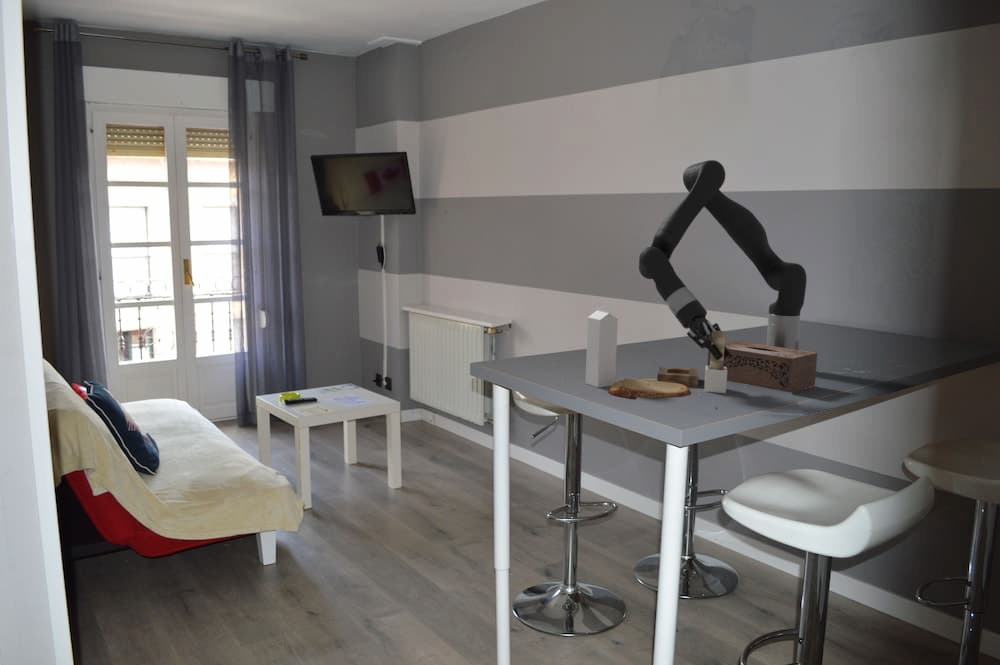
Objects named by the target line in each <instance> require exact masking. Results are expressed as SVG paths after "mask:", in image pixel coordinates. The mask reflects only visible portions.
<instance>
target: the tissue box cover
mask: <svg viewBox="0 0 1000 665" xmlns="http://www.w3.org/2000/svg"><path fill="white" fill-rule="evenodd" d="M725 346H726V348H727V349H728V350H729V351H730V353H731V354H730V355H729V356H728V357H727V358H724V364H723V367H727V381H729V382H735V383H740V384H744V385H752V386H755V387H762V388H767V389H771V390H776V391H783V392H788V393H791V394H795V393H798V392H797V391H799V392H801V391H800V390H802V389H805V388H809V387H811V386H814V385H815V386H816V376H817V364H818V363H817V362H818V352H815V351H814V352H813V351H808V350H801V349H799V350H795V349H788V348H781V347H774V346H767V345H765V344H761V343H760V344H759V343H753V342H746V341H740V340H732V341H727V342H726V341H725ZM710 355H711V352H710V351H709V350H708V354H707V366H710ZM809 389H810V388H809ZM802 391H803V390H802ZM794 392H795V393H794Z"/></svg>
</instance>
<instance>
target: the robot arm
mask: <svg viewBox="0 0 1000 665" xmlns="http://www.w3.org/2000/svg"><path fill="white" fill-rule="evenodd" d="M725 181H726V170H725V167H724V166H723V164H722V163H720V162H719V161H718V160H714V159H711V160H710V159H708V160H704V161H701V162H698V163H694V164H691V165H689V166H688V167H686V169H685V170H684V171H683V174H682V182H683V185H684V187H685V189H686V190H687V192H688V194H687V195H686V196H685V197H684V198H683V199H682V201H681V202H679V203H678V204H677V205H676V206H675V207H674V208H673V209H672V211H670V212H669V214H667V216H666V217H665V218H664V220H663V221H662V222H661V224H660V226H659V227H658V229H657V230H656V233H655V234H654V237H653V240H652V243H651V245H650V246H647V247H645V248H644V249H642V251H641V252H640V254H639V257H638V258H639V259H638V260H639V261H638V270H639V273H640V275H641V276H642V277H643V278H645V279H646V280H647V279H648V280H652V281H653V282H654V283H655V284H654V285H655V288H656V291H657V292H658V294H659V295H660V297H661V298H662V299H663V301H664V302H665V303H666V305H667V306H668V308H669V310H670V311H671V312H672V314H673V315H674V317H675V318H676V319H677V321H678V322H679V323H680V324H681V326H682V327H683V328H684V329H686V330H687V329H689V330H688V331H687V333H686V335H687V336H688V337H689V338H690V339H691V340H692V341H694V343H696V344H697V345H698V346H699V347H700V348H701V349H702V350H703V349H705V350H708V351H710V352H711V354H712V355H713V356H714V357H715V359H716V360H719V359H721V358H722V357H723V354H722V352H721V351H720V350H719V348H718V347H717V346H716V345H714V342H713V340H712V338H711V337H712V331H722V330H721V327H720V326H719V323H716V322H715V323H711V321H709V320H708V319H707V318H706V316H707V314H708V311H707V310H706V309H705V307H704V306H703V304H702V303H701V302H700V301H699V300H698V298H697V297H696V295H695V294H694V293H693V292H692V291H691V290H690V288H688V287H687V286H686V284H685V283H684V282H683V280H682V279H681V278H680V277H679V276H678V275H677V273H676V271H675V269H674V267H673V265H672V263H671V262H670V259H671V257H672V255H673V253H674V251H675V250H676V248H677V247H678V246H679V243H680V242H681V240H682V239H683V237H684V235H685V233H686V232H687V230H688V229H689V227H690V226H691V225H692V223H693V221H694V220H695V219H696V217H697V216H698V215H699V214H700V212H702V210H703V209H704V208H705V209H706V210H707V211H708V212H709V214H710V215H712V217H713V218H714V219H715V220H716V222H717V223H718V224H719V225H720V226H721V227H722V228H723V229H724V231H725V233H726V234H727V235H728V236H729V238H731V240H732V241H733V242H734V243H735V244H736V245H737V246H738V248H739V249H740V250H741V251H742V252H743V254H745V256H747V258H748V259H749V260H750V261H751V262H752V264H754V266H755V268H756V269H757V270H758V273H759V274H760V275H761V276H762V278H763V280H764V281H765V283H766V284H767V286H768V287H769V288H771V290H774V291H775V292H777V293H778V294H777V299H776V300H775V301H774V302H773V303H771V304H769V307H768V315H767V316H768V317H767V318H768V319H767V332H766V345H767V346H774V347H781V348H788V349H795V350H800V349H799V347H800V340H799V337H800V336H799V333H800V321H801V320H800V319H801V310H802V309H803V307H804V303H805V296H806V289H807V273H806V272H807V271H806V269H805V268H804V266H802V265H801V264H798V263H795V262H787V261H784V260H782V259H781V258H780V256H778V255H777V253H776V252H775V251H774V250H773V249H772V248H771V246H770V244H769V240H768V235H767V232H766V230H765V227H764V225H762V223H761V221H759V219H758V218H757V217H756V216H755V215H754V213H753V212H752V211H751V210H749V209H748V208H747V207H745V206H743V205H741V204H740V203H738V202H736V201H735V200H733V199H731V198H730V197H728V196H727V195H726V194H724V193H723V192H722V191H721V188H722V186H723V185H724V184H725ZM730 354H731V353H730V351H729V350H728V349H727V348H726V346H725V347H724V358H727V357H728V356H729V355H730Z"/></svg>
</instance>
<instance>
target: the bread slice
mask: <svg viewBox="0 0 1000 665" xmlns="http://www.w3.org/2000/svg"><path fill="white" fill-rule="evenodd" d="M608 389H609V390H608V391H607V394H609V395H611V396H615V397H620V398H625V399H626V398H627V399H632V400H636V399H637V398H656V399H657V398H658V399H659V398H673V397H674V398H676V397H683V396H688V395H689V394H690V393H691V390H690V389H689V386H685V385H682V384H677V383H670V382H669V383H668V382H660V381H657V380H647V379H645V380H641V379H632V378H630V379H629V378H624V379H620V380H619V381H615V384H614V385H612V386H609V388H608Z"/></svg>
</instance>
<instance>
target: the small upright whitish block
mask: <svg viewBox="0 0 1000 665" xmlns="http://www.w3.org/2000/svg"><path fill="white" fill-rule="evenodd" d="M704 371H705V372H704V392H705V393H719V394H720V393H721V394H727V384H728V380H727V367H723V370H713V369H710V366H708V365H705V370H704Z"/></svg>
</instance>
